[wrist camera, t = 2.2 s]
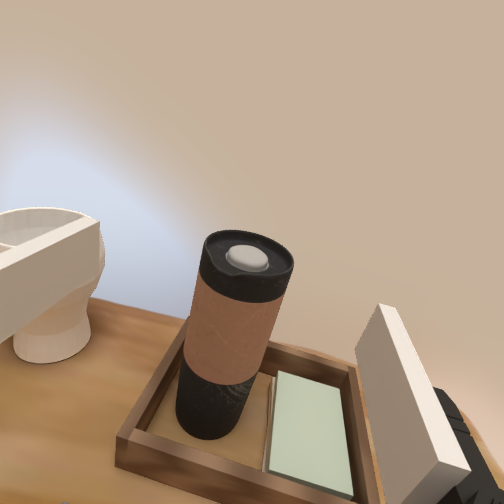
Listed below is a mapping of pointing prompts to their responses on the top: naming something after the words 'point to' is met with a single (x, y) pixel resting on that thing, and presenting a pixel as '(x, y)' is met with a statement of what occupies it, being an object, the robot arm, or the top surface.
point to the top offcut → (309, 436)
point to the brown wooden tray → (231, 473)
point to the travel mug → (229, 328)
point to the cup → (64, 311)
